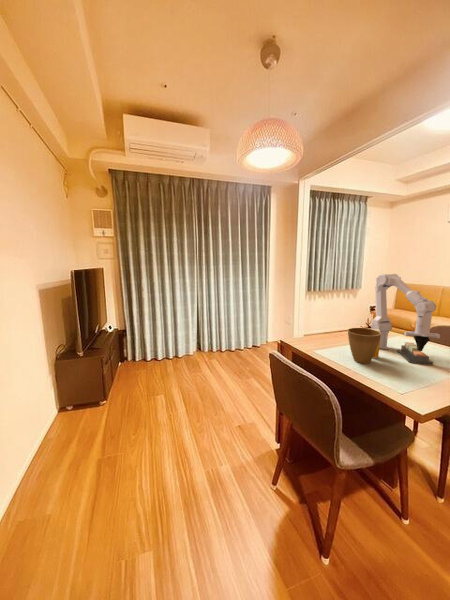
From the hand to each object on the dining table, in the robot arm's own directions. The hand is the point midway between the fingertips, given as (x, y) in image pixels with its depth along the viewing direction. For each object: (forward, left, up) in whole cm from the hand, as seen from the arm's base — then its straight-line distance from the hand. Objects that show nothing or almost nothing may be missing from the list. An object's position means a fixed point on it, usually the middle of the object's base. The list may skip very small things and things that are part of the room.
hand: (419, 350), depth 125 cm
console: (0, +5, -6) cm, 8 cm away
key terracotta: (0, 0, -4) cm, 4 cm away
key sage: (0, +5, -3) cm, 6 cm away
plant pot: (-28, -6, -6) cm, 29 cm away
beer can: (-21, +2, -6) cm, 22 cm away
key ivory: (0, +10, -3) cm, 11 cm away
